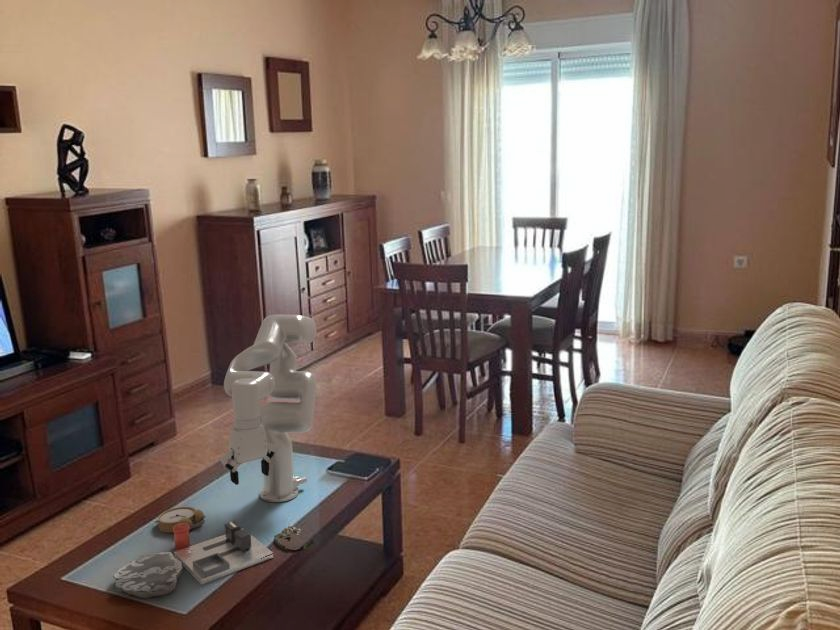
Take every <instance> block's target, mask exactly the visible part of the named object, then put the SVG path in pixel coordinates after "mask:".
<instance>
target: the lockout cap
mask: <svg viewBox="0 0 840 630" xmlns="http://www.w3.org/2000/svg"><path fill="white" fill-rule="evenodd" d="M189 529H190V527H189V525H188V524H185V523H182V524H177V525H175V526H174V527H173V532H172V533H173V537H174V549H175V550H176V551H178V550H181V549H184V548H187V547H190V546H191V545H190V544H191V542H190V531H189Z"/></svg>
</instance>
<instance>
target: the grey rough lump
mask: <svg viewBox="0 0 840 630" xmlns="http://www.w3.org/2000/svg"><path fill="white" fill-rule="evenodd" d="M301 529H302V528H296V527H295V526H293V525H288V526H287V527H285V528H283V529H282V530H281V532H279V533H277V534H275V535H274V536H273V541H274V543H275V544H276V545H277V546H278V547H280V548H282V549H283V550H285V546H283V545H281V544H280V543H281V542H280V541H281V538H282V537H286V536H290V535H291V536H292V535H299V533H300V532H301ZM285 539H287V540H288V541H290V539H291V538H290V537H287V538H285ZM278 542H279V543H278ZM313 544H315V538H314V539H313V540H311V541H310V542H308V543H307V544H305V545H303V546H302V547H301V548H300V549H299V550H298V551H301V550H305V549H307V548H308V547H310V546H312V545H313ZM285 551H288V550H287V549H286V550H285Z"/></svg>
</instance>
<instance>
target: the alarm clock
mask: <svg viewBox="0 0 840 630" xmlns="http://www.w3.org/2000/svg"><path fill="white" fill-rule="evenodd" d="M205 518H206V515H205V514H204V512H203V510H201V509H196V508H195V507H193V506H177V507H173V508H171V509H167V510H165V511H163V512H162V513H160V514H159V515H158V516H157V520H155V521H154V523H158V527H159V530H160V532H164V533H174V532H173V527H174V526H175V525H177V524H182V523H185V524H188V525H189V527H190V529H189V532H190V531H191V530H192V529H195V528H199V527H200V526H202V525H203V524H204V523H205V521H206V520H205Z"/></svg>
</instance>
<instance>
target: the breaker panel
mask: <svg viewBox="0 0 840 630" xmlns="http://www.w3.org/2000/svg"><path fill="white" fill-rule="evenodd" d="M242 529H244V528H242V527H241V530H242ZM272 553H273V554H272ZM270 554H272V555H270ZM267 555H270V556H267ZM173 556H174V558H176V559H177V560H179V561H181V564H182V567H184V568H185V569H186V570H187V572H188V573H190V575H191V576H192V577H193V578H194V579H195V580H196V581H197V583H199V584H200V585H201V586H203V585H205V584H207V583H209V582H212V581H215V580H218V579H221V578H223V577H226V576H229V575H230V574H231V575H232V574H234V573H236V572H239V571H241V570H244V569H246V568H249V567H252V566H254V565H257V564H260V563H263V562H265V561H268V560H270V559H274V552H273V551H271V550H270V549H269V548H268V547H267V546H266V545H264V544H263V543H262V542H261V541H259V540H258V539H257V538H256V537H254V536H253V535H252V534H251V548H248V549H245V550H242V551H241V550H240V549H239V548H238V547H237V546H235V541H234V542H231V541H230V540H228V539H227V538H226V535H225V534H223V535H220V536H216V537H214V538H211V539H208V540H205V541H202V542H199V543H196V544H193V545H190V547H187V548H184V549H181V550H176V551H174V552H173ZM265 556H267V557H265ZM263 557H264V558H263ZM261 558H262V559H261Z"/></svg>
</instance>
